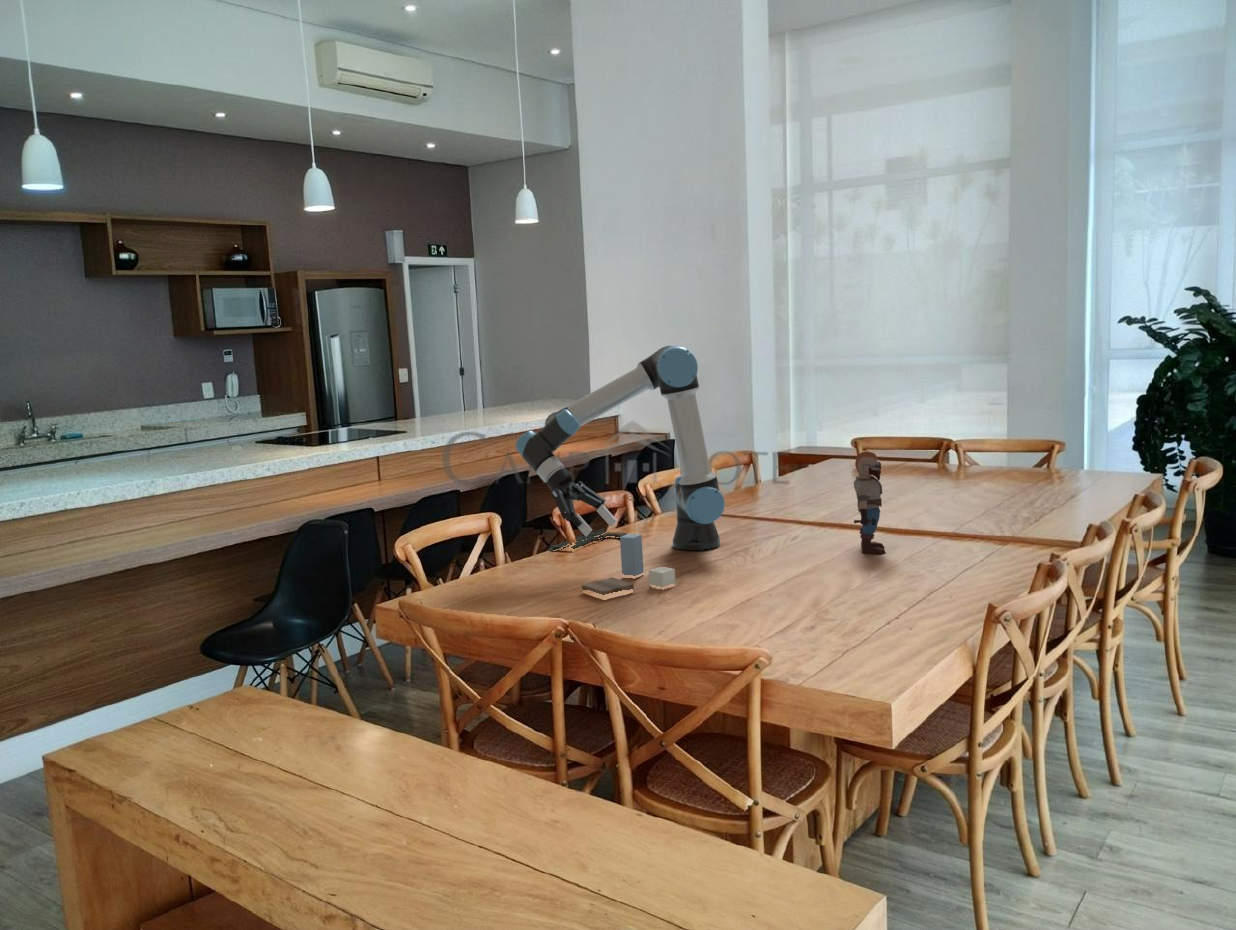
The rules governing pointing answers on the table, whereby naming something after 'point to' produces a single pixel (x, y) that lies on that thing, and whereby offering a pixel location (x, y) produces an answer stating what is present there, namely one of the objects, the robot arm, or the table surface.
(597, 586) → the slab
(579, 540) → the firearm
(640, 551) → the pillar
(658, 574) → the grey-green cube
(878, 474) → the toy
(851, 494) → the table surface
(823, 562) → the table surface
